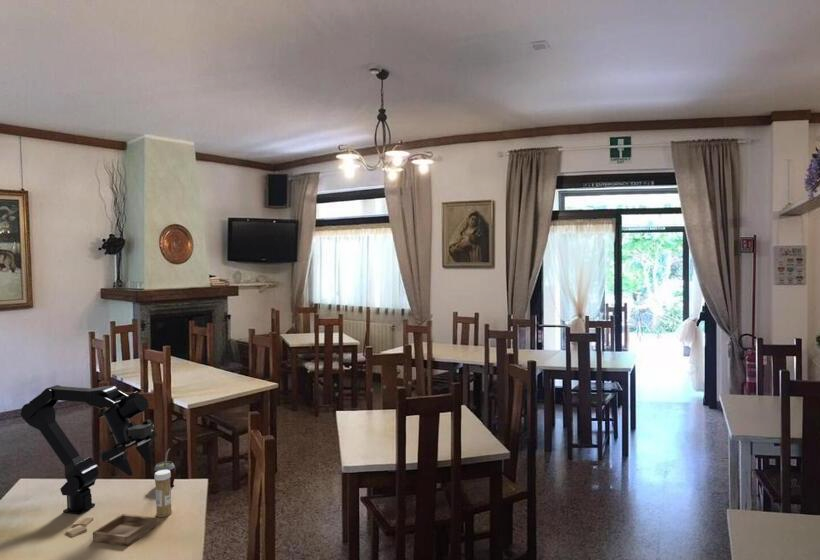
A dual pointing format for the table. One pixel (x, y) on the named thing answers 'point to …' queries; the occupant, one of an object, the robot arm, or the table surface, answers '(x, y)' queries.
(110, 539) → the box
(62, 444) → the robot arm
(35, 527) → the table surface
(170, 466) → the mate gourd
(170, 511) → the sprinkles bottle
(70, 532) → the oak tile
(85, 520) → the oak tile
